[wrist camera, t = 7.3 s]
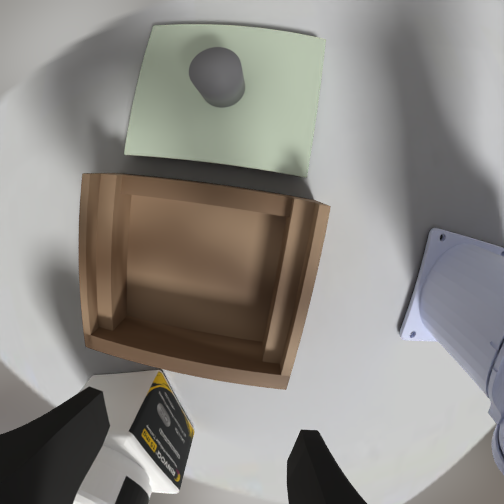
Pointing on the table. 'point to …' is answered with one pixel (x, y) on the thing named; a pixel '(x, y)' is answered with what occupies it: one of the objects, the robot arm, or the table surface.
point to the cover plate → (242, 126)
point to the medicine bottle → (137, 440)
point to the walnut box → (197, 275)
